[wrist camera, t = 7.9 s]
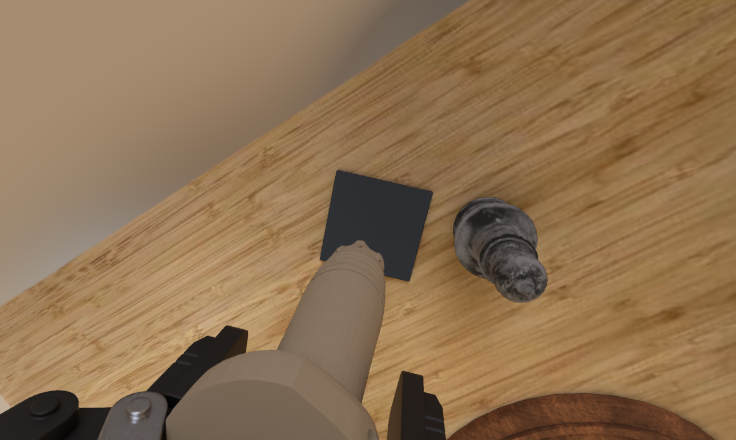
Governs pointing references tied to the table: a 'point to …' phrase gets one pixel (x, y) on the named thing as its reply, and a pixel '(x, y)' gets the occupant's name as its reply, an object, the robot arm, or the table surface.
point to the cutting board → (580, 421)
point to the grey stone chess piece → (500, 248)
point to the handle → (299, 366)
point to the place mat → (377, 220)
